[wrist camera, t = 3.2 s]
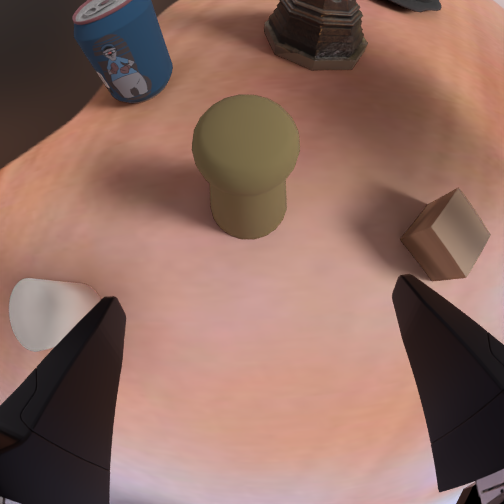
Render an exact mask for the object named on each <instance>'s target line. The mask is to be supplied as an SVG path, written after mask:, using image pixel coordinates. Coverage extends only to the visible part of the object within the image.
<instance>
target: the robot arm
mask: <svg viewBox="0 0 504 504" xmlns="http://www.w3.org/2000/svg"><path fill="white" fill-rule="evenodd" d="M392 300H393V304H394V308H395V312H396V316H397V320H398V324H399V328H400V332H401V336H402V340H403V343H404V346H405V349H406V352H407V355H408V358H409V361H410V365H411V368H412V371H413V374H414V378H415V381H416V385H417V388H418V392H419V395H420V399H421V403H422V407H423V411H424V415H425V419H426V423H427V428H428V432H429V437H430V442H431V443H432V444H431V447H432V453H433V458H434V464H435V470H436V476H437V483H438V490H439V492H443V491H446V490H450V489H453V488H456V487H459V486H462V485H465V484H468V483H471V482H473V481H475V482H474V483H473V484H471V485H469V486H468V487H466V488H464V489H463V491H462V493H461V495H460V497H459V499H458V501H457V503H456V504H504V345H503V344H502V343H501V342H500V341H498V340H497V339H496V338H495V337H493V336H492V335H491V334H490V333H489V332H487V331H486V330H485V329H484V328H482V327H481V326H480V325H479V324H477V323H476V322H475V321H474V320H472V319H471V318H470V317H468V316H467V315H466V314H465V313H463V312H462V311H461V310H459V309H458V308H457V307H456V306H454V305H453V304H452V303H450V302H449V301H448V300H446V299H445V298H444V297H442V296H441V295H439V294H438V293H437V292H435V291H434V290H433V289H431V288H430V287H428V286H427V285H426V284H424V283H423V282H421V281H420V280H419V279H417V278H416V277H414V276H413V275H411V274H405V275H400V276H399V277H398V279H397V282H396V285H395V288H394V290H393V293H392ZM125 325H126V315H125V312H124V311H123V309H122V307H121V305H120V303H119V301H118V299H117V298H116V297H114V296H112V297H104V298H102V299H101V300H100V301H99V302H98V303H97V304H96V305H95V306H94V307H93V308H92V309H91V310H90V311H89V312H88V313H87V314H86V315H85V316H84V317H83V318H82V319H81V320H80V321H79V322H78V323H77V324H76V325H75V326H74V327H73V328H72V329H71V330H70V331H69V333H68V334H67V335H66V336H65V337H64V338H63V339H62V340H61V341H60V342H59V343H58V344H57V345H56V346H55V347H54V348H53V349H52V351H51V352H50V353H49V354H48V355H47V356H46V357H45V358H44V359H43V360H42V362H41V363H40V364H39V365H38V366H37V368H35V369H34V370H33V372H32V373H31V374H30V375H29V376H28V377H27V378H26V379H25V381H24V382H23V383H22V384H21V385H20V386H19V387H18V388H17V389H16V390H15V391H14V392H13V393H12V394H11V395H10V396H9V397H8V398H7V399H6V400H5V401H4V402H3V403H2V404H1V405H0V504H109V489H110V461H111V446H112V435H113V425H114V416H115V407H116V400H117V393H118V386H119V379H120V373H121V367H122V360H123V348H124V336H125Z"/></svg>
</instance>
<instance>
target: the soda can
mask: <svg viewBox="0 0 504 504" xmlns="http://www.w3.org/2000/svg"><path fill="white" fill-rule="evenodd" d="M73 22H74V38H75V39H76V41H77V42H78V44H79V46H80V47H81V49H82V50H83V52H84V54H85V55H86V57H87V58H88V60H89V61H90V63H91V64H92V66H93V67H94V69H95V70H96V72H97V74H98V75H99V76H100V78H101V80H102V81H103V83H104V84H105V86H106V87H107V89H108V90H109V92H110V93H111V95H112V96H113V97H114V98H115V99H117V100H119V101H123V102H128V103H141V102H144V101H147V100H149V99H151V98H153V97H155V96H156V95H158V94H159V93H160V92H161V91H162V90H163V89H164V88H165V86H166V85H167V83H168V81H169V79H170V76H171V74H172V69H173V66H172V62H171V59H170V56H169V53H168V50H167V47H166V44H165V41H164V38H163V35H162V32H161V29H160V26H159V23H158V20H157V17H156V14H155V11H154V8H153V5H152V2H151V0H87V1H86V2H85V3H84V4H82V5H81V6H80V7H79V8H78V9H77V10H76V12H75V13H74V15H73Z"/></svg>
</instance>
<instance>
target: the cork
mask: <svg viewBox="0 0 504 504" xmlns="http://www.w3.org/2000/svg"><path fill="white" fill-rule="evenodd" d="M192 152H193V156H194V160H195V164H196V166H197V168H198V170H199V171H200V172H201V174H202V175H203V177H204V178H205V179H206V181H208V182H209V183H210V205H211V211H212V214H213V218H214V220H215V221H216V223H217V224H218V225H219V227H220V228H221V229H222V230H224V231H225V232H226V233H228V234H229V235H231V236H234V237H237V238H240V239H257V238H260V237H264V236H266V235H268V234H269V233H271V232H272V231H274V230H275V229H276V228H277V227H278V225H279V224H280V223H281V221H282V220H283V218H284V215H285V212H286V209H287V207H286V181H285V180H286V178H287V177H288V176H289V174H290V173H291V172H292V171H293V169H294V167H295V164H296V161H297V158H298V155H299V152H300V144H299V133H298V130H297V127H296V125H295V123H294V121H293V119H292V117H291V116H290V115H289V114H288V113H287V112H286V111H285V110H284V109H283V108H282V107H281V106H280V105H278V104H277V103H275V102H273V101H271V100H270V99H268V98H265V97H261V96H257V95H236V96H232V97H228V98H225V99H223V100H221V101H219V102H217V103H215V104H214V105H212V106H211V107H210V108H209V109H208V110H207V111H206V112H205V113H204V114H203V115H202V116H201V117H200V119H199V121H198V123H197V125H196V127H195V129H194V134H193V142H192Z"/></svg>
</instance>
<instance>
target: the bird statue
mask: <svg viewBox="0 0 504 504" xmlns="http://www.w3.org/2000/svg"><path fill="white" fill-rule="evenodd" d="M359 8H360V6H359V5H358V4H357V3H356V0H280V2H279V4H278V5H277V8H276V9H275V10H274V13H273V14H272V15H271V16H270V17H269V20H268V21H266V22H265V27H264V32H265V35H266V37H267V39H268V41H269V43H270V45H271V48H272V50H273V52H274V54H275V55H278V56H280V57H283V58H285V59H287V60H290V61H292V62H294V63H297V64H299V65H301V66H303V67H306V68H308V69H310V70H352V69H353V67H354V66H355V64H356V63H357V61H358V60H359V59H360V57H361V56H362V54H363V53H364V51H365V49H366V47H367V44H368V42H367V41H366V40H365V38H364V34H363V33H362V30H363V29H362V28H361V23H362V21H361V18H362V16H363V15H362V12H361V11H360V10H359Z"/></svg>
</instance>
